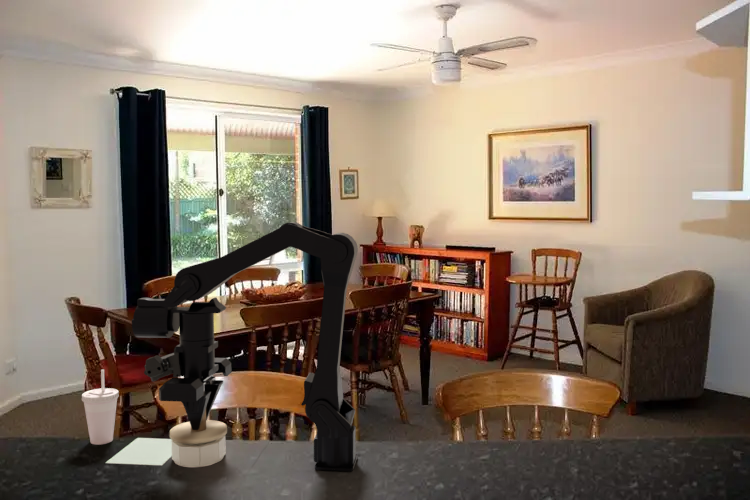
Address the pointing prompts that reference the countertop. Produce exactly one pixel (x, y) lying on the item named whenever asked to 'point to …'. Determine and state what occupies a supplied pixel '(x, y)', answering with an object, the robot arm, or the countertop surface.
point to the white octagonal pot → (198, 453)
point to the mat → (144, 452)
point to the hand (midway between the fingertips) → (198, 426)
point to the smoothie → (100, 412)
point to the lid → (198, 432)
